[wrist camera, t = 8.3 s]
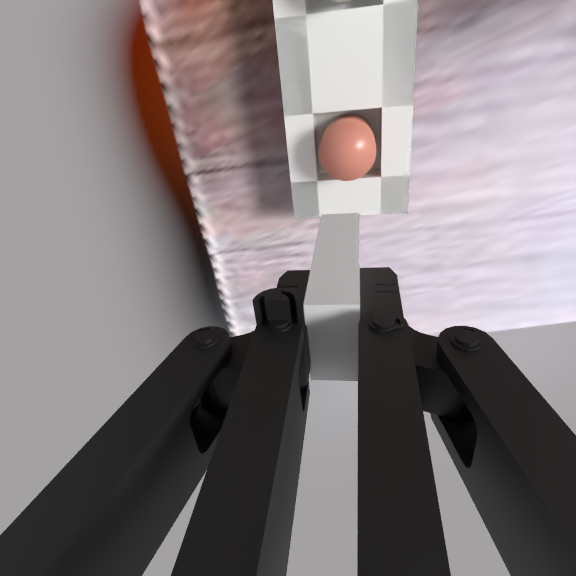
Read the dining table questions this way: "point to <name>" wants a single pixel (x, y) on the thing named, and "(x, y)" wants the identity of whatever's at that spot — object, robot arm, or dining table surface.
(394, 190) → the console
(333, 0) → the white rounded piece
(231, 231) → the dining table surface
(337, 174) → the salmon rounded knob
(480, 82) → the dining table surface
